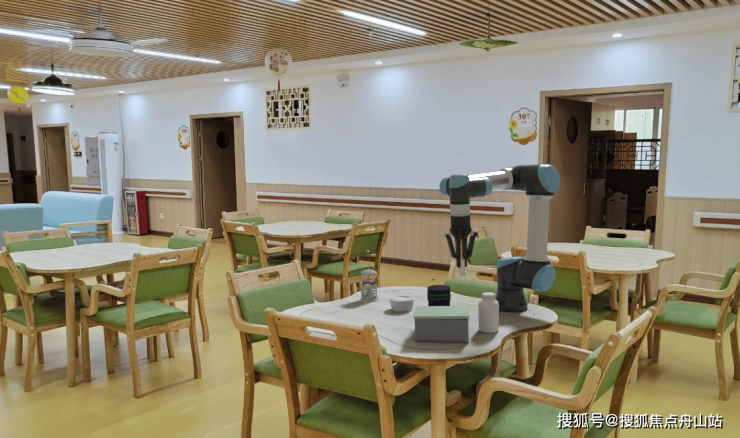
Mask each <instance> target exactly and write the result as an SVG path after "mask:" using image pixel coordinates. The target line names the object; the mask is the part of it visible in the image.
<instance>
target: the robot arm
mask: <svg viewBox="0 0 740 438" xmlns="http://www.w3.org/2000/svg"><path fill="white" fill-rule="evenodd" d="M560 186H561V175H560V173H559V171H558V170H557V168H556V167H555V166H553V165H551V164H544V163H542V164H519V165H515V166H509V167H506V168H500V169H499V170H498V171H493V172H492V171H491V172H486V173H478V174H470V175H469V174H467V173H461V174H460V173H457V174H456V173H455V174H451V175H449V176H448V177H444V178H442V179H441V180H440V181H439V191H440V193H441V194H442V195H443V196H447V197H449V214H450V228H449V231H448V232H447V233H444V234H443V235H444V238H446V241H447V245H448V249H449V253H450V257H451V258H452V259H455V261H456V262H455V263H456V268H458V275H459V276H460V277H466V268H467V267H468V259H469V258H471V257H472V255H473V250H474V247H475V242H476V238H477V235H478V231H474V230H473V229H472V227H471V215H470V214H471V198H472V199H473V198H484V197H486V196H489V195H490V194H491V193H492V191H497V190H502V191H520V192H525V196H526V198H527V199H528V212H527V213H528V216H527V233H526V234H527V235H526V237H527V238H526V253H525V255H524V256H509V257H508V256H507V257H501V258H499V259H498V260H497V262H496V282H497V283H496V287H497V288H496V290H497V291H496V293H495V300H496V301H498V303H499V312H507V313H508V312H509V313H510V312H511V313H512V312H513V313H515V312H523V311H526V310H528V308H529V306H528V304H529V303H528V300H527V297H526V295H525V291H524V289H528V290H532V291H535V292H537V291H539V292H546V291H547V290H550V288H552V286H553V284H554V282H555V280H556V275H557V274H556V272H557V271H556V270H555V267H554V266H553V265H552V264H551V259H550V257H548V242H549V241H548V239H549V224H550V222H549V221H550V201H551V199H552V198H554V197H555V196H554V195H555V192H558V190H559V188H560ZM452 236H453V238H454V242H455V243H454V242H453V240H452ZM468 238H469V239H468ZM468 240H469V241H468ZM454 244H455V246H454Z"/></svg>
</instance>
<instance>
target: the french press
mask: <svg viewBox="0 0 740 438" xmlns="http://www.w3.org/2000/svg"><path fill="white" fill-rule="evenodd" d="M365 253H367V254H369V253H370V250H369V249H366V250H365ZM376 274H377V271H376V270H374V269H370V268H369V265H367V269H364V270H362V271H360V275H357V277H355V281H354V283H355V284H354V285H355V287H356V289H357V290H358V291H360V294H361V297H360V299H359V301H360V302H361V303H376V302H378V301H380V298H379V297H378V284H377V282H376V281H377V280H376V279H374V278H370V276H372V275H376ZM362 275H363V276H368V277H367V279H362V280H361V282H362V283H361V284H360V287H361V288H359V287H358V286H357V281H358V279H359V277H360V278H362Z"/></svg>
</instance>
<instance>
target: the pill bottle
mask: <svg viewBox="0 0 740 438" xmlns="http://www.w3.org/2000/svg"><path fill="white" fill-rule="evenodd" d="M495 296H496V293H495V292H491V291H490V292H488V291H487V292H485V291H484V292H483V293H481V299H480V300H479V301H478V304H477V305H478V330H479V332H481V333H487V334H495V333H497V332H499V327H500V319H499V317H500V310H499V303H498V301H496V300H495Z"/></svg>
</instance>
